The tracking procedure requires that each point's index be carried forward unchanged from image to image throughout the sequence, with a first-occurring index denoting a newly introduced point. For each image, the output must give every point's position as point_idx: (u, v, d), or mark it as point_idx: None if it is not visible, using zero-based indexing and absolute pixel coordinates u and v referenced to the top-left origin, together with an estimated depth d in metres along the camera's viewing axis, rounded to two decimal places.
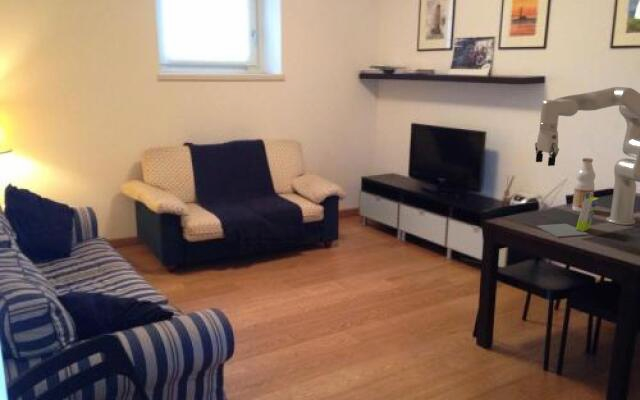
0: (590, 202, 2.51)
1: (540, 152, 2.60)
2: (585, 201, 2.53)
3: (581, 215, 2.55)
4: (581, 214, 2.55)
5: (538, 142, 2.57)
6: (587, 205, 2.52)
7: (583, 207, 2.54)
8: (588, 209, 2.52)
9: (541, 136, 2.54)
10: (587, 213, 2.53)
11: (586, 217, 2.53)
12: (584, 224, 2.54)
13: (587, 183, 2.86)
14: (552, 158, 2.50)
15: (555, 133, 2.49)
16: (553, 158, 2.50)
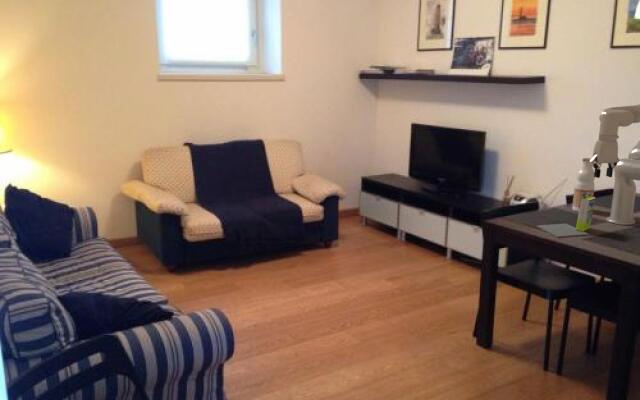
0: (587, 201, 2.52)
1: None
2: (582, 201, 2.53)
3: (580, 215, 2.55)
4: (579, 214, 2.55)
5: (602, 155, 2.50)
6: (585, 205, 2.53)
7: (581, 207, 2.54)
8: (586, 209, 2.53)
9: (607, 148, 2.49)
10: (585, 213, 2.53)
11: (585, 217, 2.54)
12: (583, 224, 2.54)
13: (587, 183, 2.86)
14: None
15: None
16: None
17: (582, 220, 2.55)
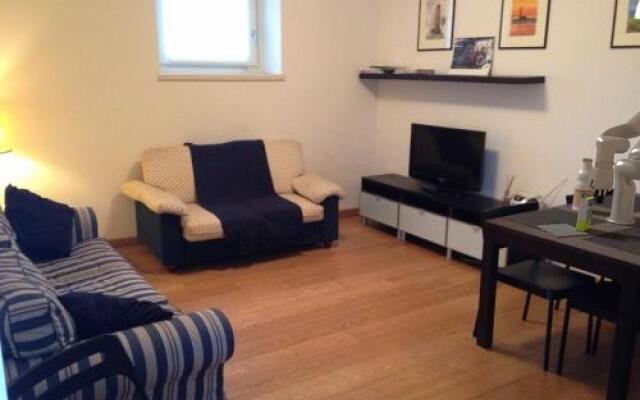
0: (586, 201, 2.52)
1: None
2: (581, 200, 2.54)
3: (579, 215, 2.55)
4: (579, 214, 2.55)
5: (598, 182, 2.53)
6: (584, 204, 2.53)
7: (580, 207, 2.55)
8: (585, 208, 2.53)
9: (603, 175, 2.52)
10: (585, 212, 2.53)
11: (584, 216, 2.54)
12: (583, 224, 2.54)
13: (587, 183, 2.86)
14: None
15: None
16: None
17: (582, 220, 2.55)
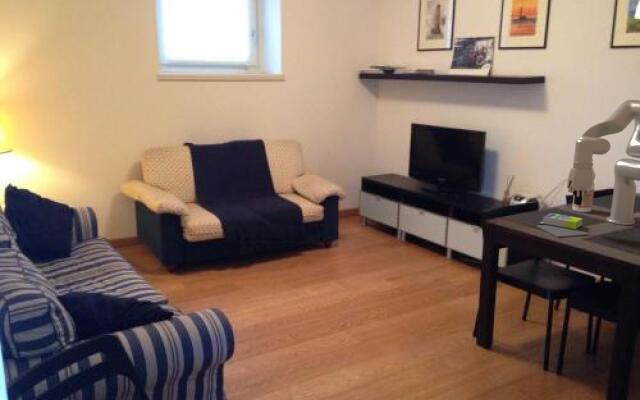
0: (545, 218, 2.66)
1: None
2: (545, 222, 2.66)
3: (559, 225, 2.62)
4: (558, 225, 2.62)
5: (576, 182, 2.51)
6: (548, 220, 2.65)
7: (551, 223, 2.64)
8: (552, 219, 2.64)
9: (581, 176, 2.50)
10: (556, 220, 2.62)
11: (560, 220, 2.61)
12: (568, 221, 2.59)
13: None
14: None
15: None
16: None
17: (564, 223, 2.60)
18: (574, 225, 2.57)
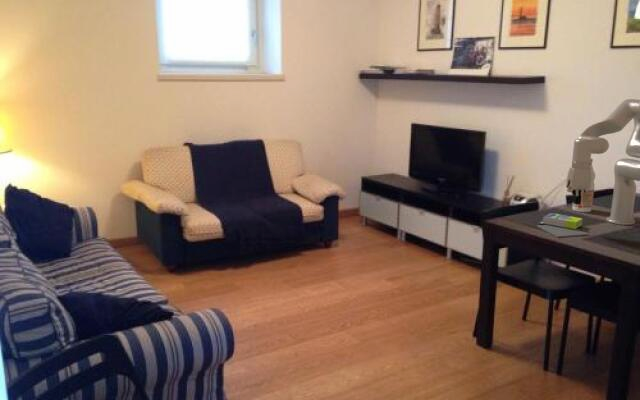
0: (545, 218, 2.66)
1: None
2: (545, 222, 2.66)
3: (559, 225, 2.62)
4: (558, 225, 2.62)
5: (575, 182, 2.51)
6: (548, 220, 2.65)
7: (551, 223, 2.64)
8: (552, 219, 2.64)
9: (580, 175, 2.50)
10: (556, 220, 2.62)
11: (560, 220, 2.61)
12: (568, 221, 2.59)
13: None
14: None
15: None
16: None
17: (564, 223, 2.60)
18: (574, 225, 2.57)
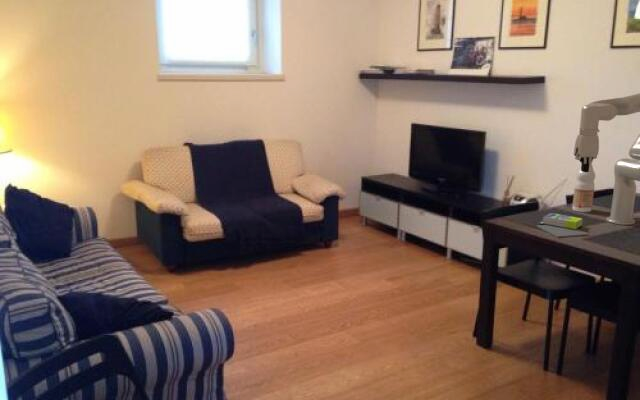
0: (545, 218, 2.66)
1: None
2: (545, 222, 2.66)
3: (559, 225, 2.62)
4: (558, 225, 2.62)
5: (583, 149, 2.50)
6: (548, 220, 2.65)
7: (551, 223, 2.64)
8: (552, 219, 2.64)
9: (588, 142, 2.49)
10: (556, 220, 2.62)
11: (560, 220, 2.61)
12: (568, 221, 2.59)
13: (587, 183, 2.86)
14: None
15: None
16: None
17: (564, 223, 2.60)
18: (574, 225, 2.57)
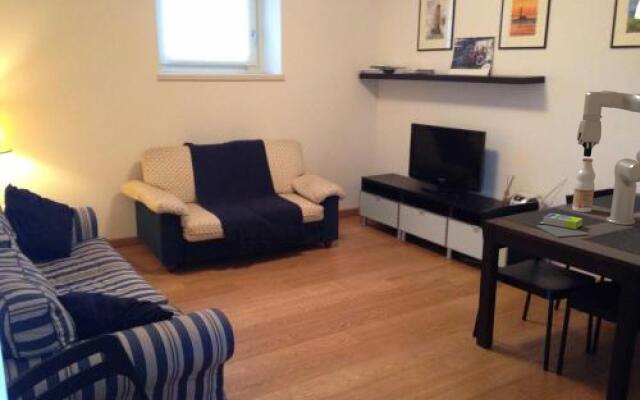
0: (545, 218, 2.66)
1: None
2: (545, 222, 2.66)
3: (559, 225, 2.62)
4: (558, 225, 2.62)
5: (586, 134, 2.59)
6: (548, 220, 2.65)
7: (551, 223, 2.64)
8: (552, 219, 2.64)
9: (591, 128, 2.59)
10: (556, 220, 2.62)
11: (560, 220, 2.61)
12: (568, 221, 2.59)
13: (587, 183, 2.86)
14: None
15: None
16: None
17: (564, 223, 2.60)
18: (574, 225, 2.57)
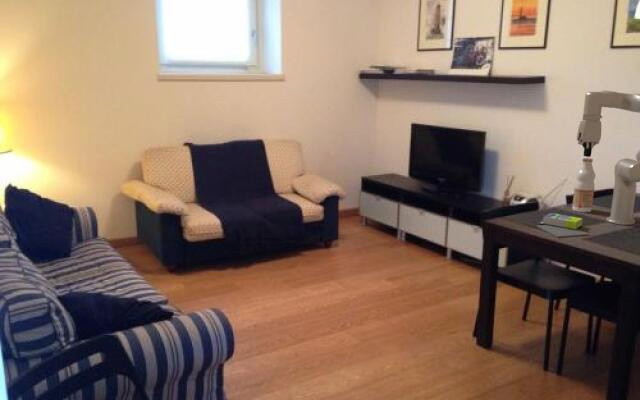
0: (545, 218, 2.66)
1: None
2: (545, 222, 2.66)
3: (559, 225, 2.62)
4: (558, 225, 2.62)
5: (586, 134, 2.59)
6: (548, 220, 2.65)
7: (551, 223, 2.64)
8: (552, 219, 2.64)
9: (591, 128, 2.59)
10: (556, 220, 2.62)
11: (560, 220, 2.61)
12: (568, 221, 2.59)
13: (587, 183, 2.86)
14: None
15: None
16: None
17: (564, 223, 2.60)
18: (574, 225, 2.57)
